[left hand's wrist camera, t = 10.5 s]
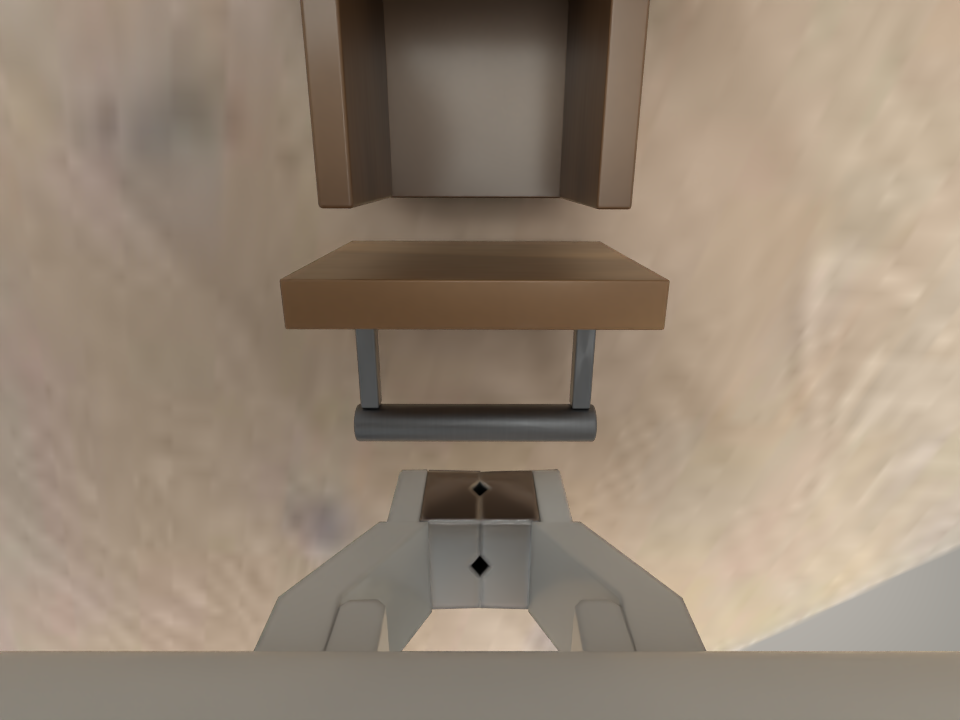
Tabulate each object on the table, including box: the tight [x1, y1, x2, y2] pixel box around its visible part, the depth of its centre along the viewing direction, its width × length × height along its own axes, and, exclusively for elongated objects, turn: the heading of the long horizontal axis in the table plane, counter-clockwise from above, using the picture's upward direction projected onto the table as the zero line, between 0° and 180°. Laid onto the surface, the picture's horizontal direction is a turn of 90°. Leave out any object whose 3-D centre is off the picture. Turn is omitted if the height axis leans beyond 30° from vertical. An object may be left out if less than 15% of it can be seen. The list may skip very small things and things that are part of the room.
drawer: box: [280, 0, 669, 441], centre depth 14 cm, size 23×9×8 cm, turn 0°
